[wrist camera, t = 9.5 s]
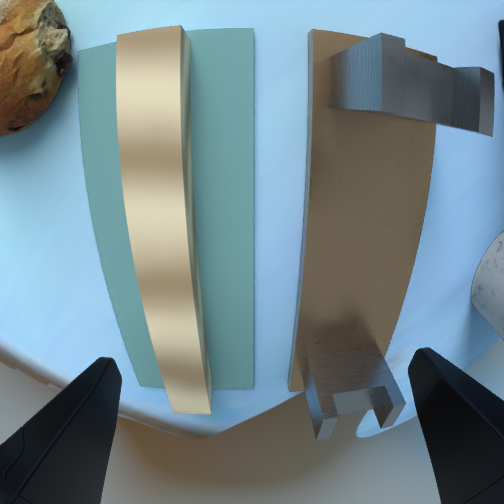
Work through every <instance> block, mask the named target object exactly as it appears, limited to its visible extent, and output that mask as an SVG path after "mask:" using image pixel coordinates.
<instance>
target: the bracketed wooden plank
mask: <svg viewBox="0 0 504 504" xmlns="http://www.w3.org/2000/svg"><path fill="white" fill-rule="evenodd" d="M493 122H494V73H492V72H490V71H488V70H486V69H484V68H482V67H459V68H452V67H449V66H447V65H444V64H441V63H438V62H437V57H436V56H433V55H430V54H427V53H424V52H421V51H417V50H414V49H411V48H407V47H405V39H403V38H399V37H396V36H392V35H388V34H384V33H379V34H377V35H374V36H372V37H370V38H366V37H361V36H356V35H350V34H344V33H338V32H332V31H324V30H316V29H312V30H311V31H310V32H309V33H308V131H307V160H306V182H305V201H304V218H303V233H302V247H301V260H300V272H299V283H298V294H297V305H296V315H295V325H294V334H293V343H292V352H291V360H290V368H289V376H288V388H289V392H290V391H302V390H305V392H306V396H307V401H308V405H309V410H310V414H311V419H312V423H313V428H314V433H315V437H316V441H317V440H325V439H330V437H331V435H332V433H333V430H334V428H335V425H336V423H337V420H338V418H339V416H338V415H342V414H348V413H353V412H359V411H365V410H370V409H374V412H375V415H376V417H377V420H378V423H379V425H380V428H381V429H382V428H386V427H390V426H393V424H394V422H395V421H396V419H397V418H398V416H399V414H400V413H401V411H402V409H403V408H404V406H405V404H406V402H405V400H404V398H403V396H402V394H401V391H400V389H399V387H398V385H397V383H396V381H395V379H394V377H393V375H392V373H391V371H390V369H389V367H388V365H387V363H386V361H385V359H384V357H385V355H386V352H387V349H388V347H389V344H390V341H391V338H392V335H393V332H394V330H395V327H396V324H397V321H398V318H399V314H400V311H401V308H402V305H403V302H404V298H405V295H406V291H407V288H408V284H409V281H410V277H411V273H412V270H413V266H414V262H415V258H416V253H417V249H418V245H419V240H420V236H421V231H422V226H423V221H424V216H425V210H426V205H427V199H428V193H429V186H430V179H431V172H432V164H433V155H434V145H435V133H436V125H442V126H447V127H452V128H457V129H461V130H466V131H470V132H475V133H479V134H483V135H487V136H491V137H492V136H493Z"/></svg>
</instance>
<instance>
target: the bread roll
mask: <svg viewBox="0 0 504 504" xmlns="http://www.w3.org/2000/svg"><path fill="white" fill-rule="evenodd" d="M69 36H70V30H69V28H68V27H67V26H66V25H65V21H64V16H63V13H62V12H61V10H60V9H59V7H58V6H57V4H56V3H55V2H54V0H0V136H5V135H7V134H11V133H16V132H19V131H21V130H23V129H25V128H27V127H28V126H29V125H31V123H32V122H33V121H35V120H36V119H38V118H39V117H40V116H41V115H42V114H43V113H44V112H45V111H46V110H47V108H48V107H49V106H50V104H51V102H52V101H53V99H54V98H55V96H56V95H57V92H58V89H59V86H60V84H61V81H62V79H63V76H64V73H65V72H66V71H67V70H68V69H69V67H70V66H71V64H72V61H73V58H72V56H71V54H70V50H71V46H70V40H69Z"/></svg>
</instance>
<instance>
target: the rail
mask: <svg viewBox="0 0 504 504" xmlns="http://www.w3.org/2000/svg"><path fill="white" fill-rule="evenodd" d="M116 107H117V129H118V144H119V157H120V168H121V178H122V187H123V196H124V204H125V211H126V218H127V225H128V231H129V238H130V244H131V249H132V255H133V261H134V266H135V271H136V276H137V281H138V286H139V291H140V295H141V300H142V304H143V309H144V313H145V317H146V321H147V325H148V329H149V333H150V337H151V341H152V345H153V348H154V352H155V355H156V359H157V363H158V366H159V369H160V373H161V376H162V379H163V383H164V386H165V389H166V392H167V395H168V398H169V401H170V404H171V407H172V410H173V413H182V414H211V402H212V381H211V373H210V366H209V358H208V350H207V342H206V334H205V325H204V316H203V307H202V297H201V287H200V276H199V265H198V253H197V241H196V227H195V212H194V196H193V177H192V154H191V120H190V38H189V37H188V35H187V34H186V32H185V31H184V29H183V28H182V26H181V25H178V26H169V27H161V28H154V29H148V30H142V31H136V32H131V33H125V34H121V35H117V48H116Z"/></svg>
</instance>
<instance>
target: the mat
mask: <svg viewBox="0 0 504 504" xmlns="http://www.w3.org/2000/svg"><path fill="white" fill-rule="evenodd" d="M185 32H186V34H187V35H188V37H189V38H190V120H191V154H192V177H193V196H194V212H195V227H196V241H197V253H198V265H199V276H200V287H201V297H202V307H203V316H204V325H205V334H206V342H207V350H208V358H209V366H210V373H211V381H212V389H252V388H253V354H254V28H225V29H205V30H191V31H185ZM116 48H117V42H113V43H109V44H105V45H101V46H97V47H93V48H89V49H85V50H82V51H79V55H78V99H79V120H80V135H81V146H82V156H83V165H84V173H85V181H86V188H87V195H88V201H89V207H90V213H91V218H92V224H93V229H94V234H95V239H96V243H97V248H98V252H99V257H100V261H101V265H102V269H103V273H104V277H105V281H106V285H107V289H108V292H109V296H110V300H111V303H112V306H113V310H114V313H115V316H116V320H117V323H118V326H119V329H120V332H121V335H122V338H123V341H124V344H125V347H126V350H127V353H128V356H129V358H130V361H131V364H132V366H133V369H134V372H135V374H136V377H137V380H138V382H139V385H140V386H142V387H157V388H165V386H164V383H163V379H162V376H161V373H160V369H159V366H158V363H157V359H156V355H155V352H154V348H153V345H152V341H151V337H150V333H149V329H148V325H147V321H146V317H145V313H144V309H143V304H142V300H141V295H140V291H139V286H138V281H137V276H136V271H135V266H134V261H133V255H132V249H131V244H130V238H129V231H128V225H127V218H126V211H125V204H124V196H123V187H122V178H121V168H120V157H119V144H118V129H117V107H116Z"/></svg>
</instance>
